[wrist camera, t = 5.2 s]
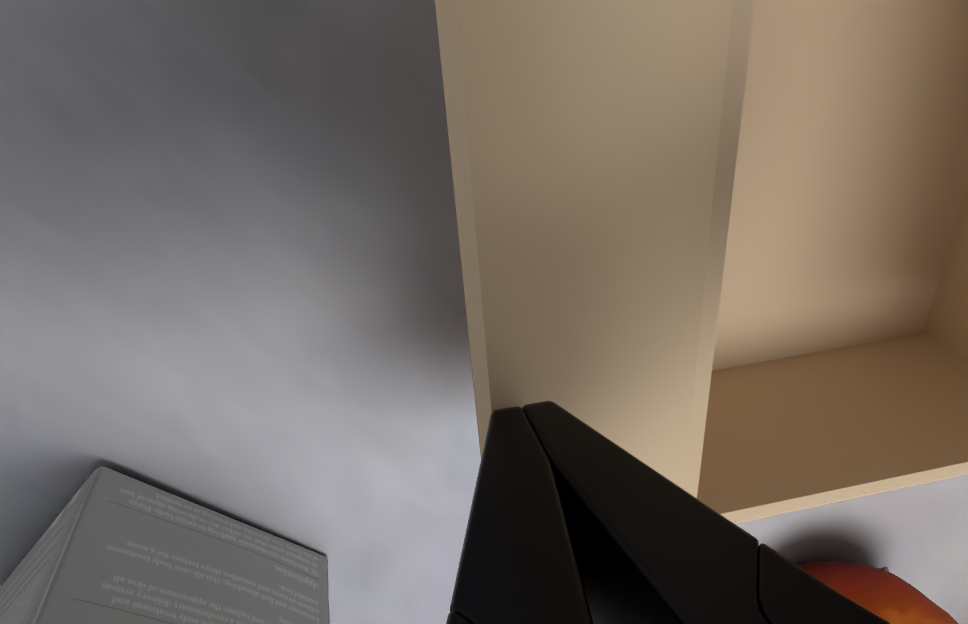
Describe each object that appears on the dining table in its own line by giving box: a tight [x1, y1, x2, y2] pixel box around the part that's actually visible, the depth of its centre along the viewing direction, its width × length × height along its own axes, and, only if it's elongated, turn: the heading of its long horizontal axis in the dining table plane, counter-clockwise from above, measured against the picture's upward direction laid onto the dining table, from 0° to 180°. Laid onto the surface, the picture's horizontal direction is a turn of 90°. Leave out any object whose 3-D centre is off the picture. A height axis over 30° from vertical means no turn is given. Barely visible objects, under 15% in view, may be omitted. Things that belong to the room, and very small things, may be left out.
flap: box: [435, 0, 733, 489], centre depth 10 cm, size 6×13×1 cm, turn 3°
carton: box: [683, 0, 968, 524], centre depth 16 cm, size 12×15×6 cm
